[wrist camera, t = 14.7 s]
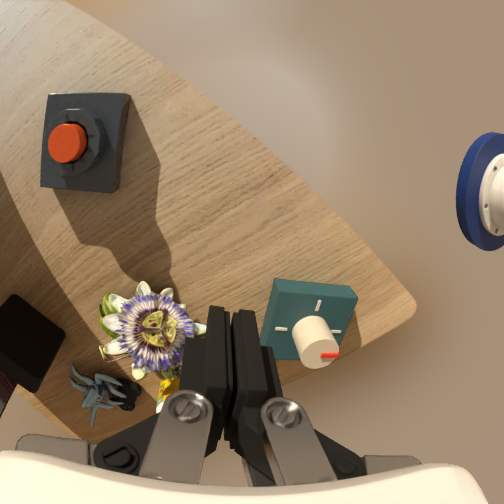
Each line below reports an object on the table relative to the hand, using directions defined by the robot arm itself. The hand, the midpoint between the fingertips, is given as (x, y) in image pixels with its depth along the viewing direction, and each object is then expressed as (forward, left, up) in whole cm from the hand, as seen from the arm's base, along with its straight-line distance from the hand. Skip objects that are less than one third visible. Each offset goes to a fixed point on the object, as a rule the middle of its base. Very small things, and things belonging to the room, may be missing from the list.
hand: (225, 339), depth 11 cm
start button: (-5, -15, -18) cm, 24 cm away
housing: (-5, -15, -22) cm, 27 cm away
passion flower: (+15, -6, -22) cm, 27 cm away
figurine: (+30, -14, -22) cm, 40 cm away
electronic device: (+20, -24, -22) cm, 38 cm away
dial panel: (+13, +13, -22) cm, 28 cm away
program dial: (+13, +13, -19) cm, 26 cm away
